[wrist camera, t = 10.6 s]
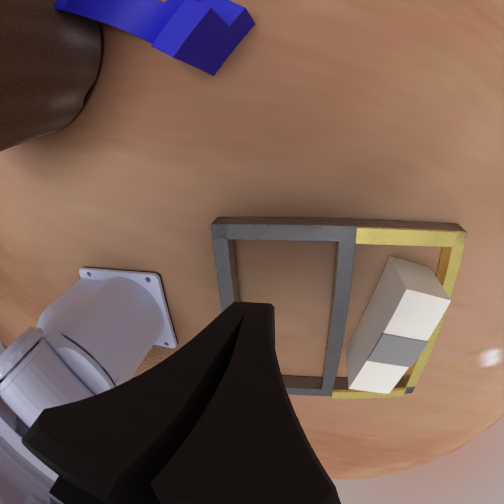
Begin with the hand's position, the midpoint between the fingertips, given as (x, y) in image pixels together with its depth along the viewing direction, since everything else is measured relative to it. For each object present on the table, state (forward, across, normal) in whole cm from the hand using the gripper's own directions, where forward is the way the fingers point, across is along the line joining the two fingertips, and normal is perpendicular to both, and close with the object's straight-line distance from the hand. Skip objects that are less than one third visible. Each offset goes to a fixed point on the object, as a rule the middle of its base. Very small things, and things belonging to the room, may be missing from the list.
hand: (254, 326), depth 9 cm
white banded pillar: (+11, -8, +7) cm, 15 cm away
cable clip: (+11, +7, -16) cm, 20 cm away
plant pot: (+11, +19, -15) cm, 26 cm away
